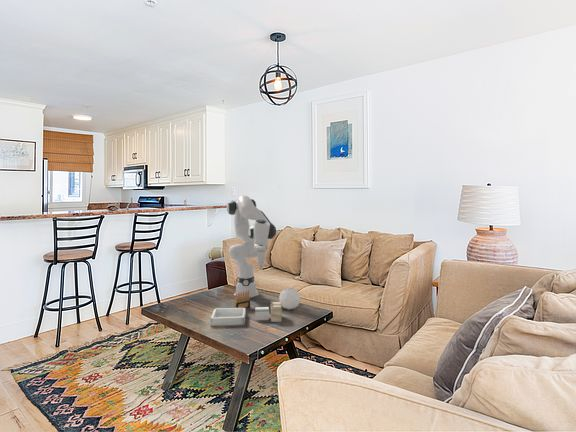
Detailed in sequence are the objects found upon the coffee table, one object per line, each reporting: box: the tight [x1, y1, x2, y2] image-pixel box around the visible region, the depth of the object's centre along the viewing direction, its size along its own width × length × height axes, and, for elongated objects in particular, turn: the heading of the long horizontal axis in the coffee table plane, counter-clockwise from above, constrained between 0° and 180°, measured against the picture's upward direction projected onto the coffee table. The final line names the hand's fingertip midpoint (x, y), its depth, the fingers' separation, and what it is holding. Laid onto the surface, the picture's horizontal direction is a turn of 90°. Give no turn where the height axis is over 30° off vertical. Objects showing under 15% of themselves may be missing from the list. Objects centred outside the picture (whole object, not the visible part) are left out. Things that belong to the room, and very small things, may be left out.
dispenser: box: [270, 300, 282, 323], centre depth 212 cm, size 9×6×10 cm
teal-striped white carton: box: [254, 306, 270, 321], centre depth 212 cm, size 3×8×7 cm, turn 94°
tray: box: [210, 307, 247, 327], centre depth 210 cm, size 17×19×5 cm
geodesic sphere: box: [278, 287, 301, 311], centre depth 231 cm, size 15×14×14 cm
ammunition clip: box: [234, 290, 251, 310], centre depth 231 cm, size 11×2×12 cm, turn 127°
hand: (261, 267), depth 220 cm, fingers open, 8 cm apart
